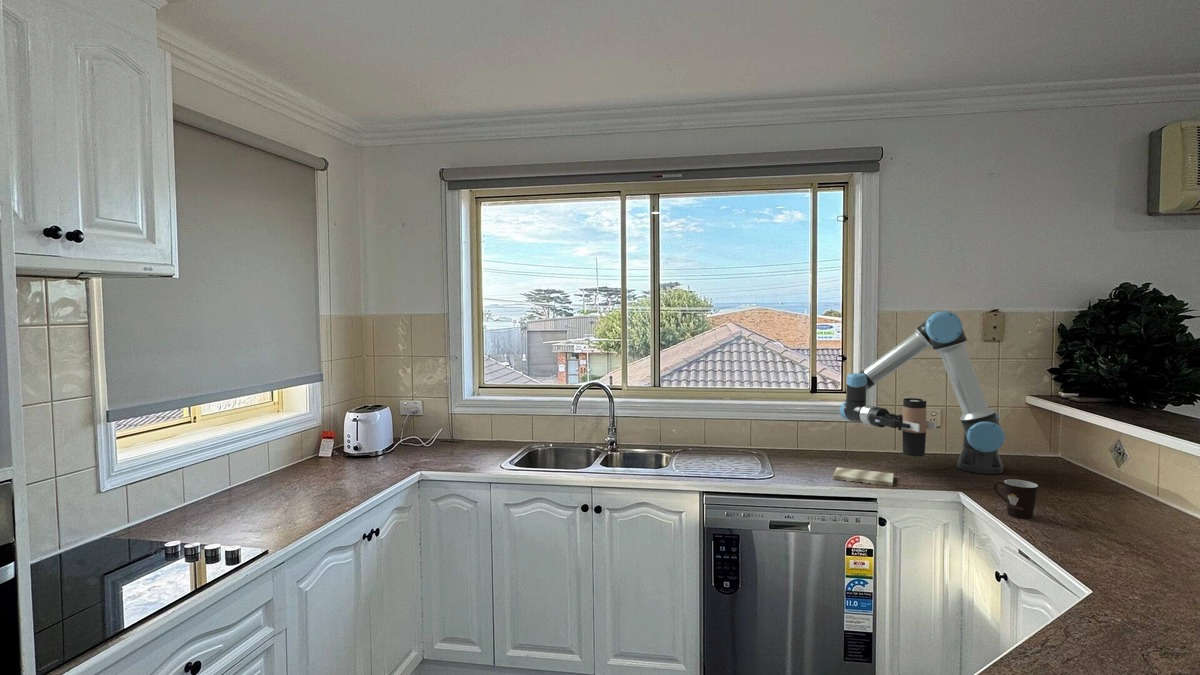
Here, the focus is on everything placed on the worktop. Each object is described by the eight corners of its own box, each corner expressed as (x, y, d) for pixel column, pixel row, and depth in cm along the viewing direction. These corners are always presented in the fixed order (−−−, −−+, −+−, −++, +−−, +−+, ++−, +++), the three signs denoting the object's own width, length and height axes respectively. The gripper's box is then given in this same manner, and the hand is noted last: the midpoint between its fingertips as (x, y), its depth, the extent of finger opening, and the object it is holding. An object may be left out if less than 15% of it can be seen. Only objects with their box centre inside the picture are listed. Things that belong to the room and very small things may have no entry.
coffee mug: (1043, 520, 184) (1045, 487, 183) (1014, 520, 184) (1015, 487, 183) (1018, 507, 195) (1019, 476, 195) (990, 507, 195) (991, 476, 195)
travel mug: (899, 454, 224) (900, 400, 222) (905, 450, 229) (906, 397, 228) (922, 457, 218) (923, 402, 217) (928, 453, 224) (929, 399, 223)
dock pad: (893, 477, 230) (893, 473, 230) (892, 486, 219) (892, 482, 219) (836, 471, 239) (836, 467, 239) (832, 479, 228) (833, 475, 228)
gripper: (894, 423, 243) (946, 435, 222) (855, 428, 235) (906, 440, 214) (894, 405, 243) (947, 414, 222) (855, 408, 235) (907, 418, 214)
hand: (927, 427), depth 218 cm, fingers closed on travel mug, 7 cm apart
